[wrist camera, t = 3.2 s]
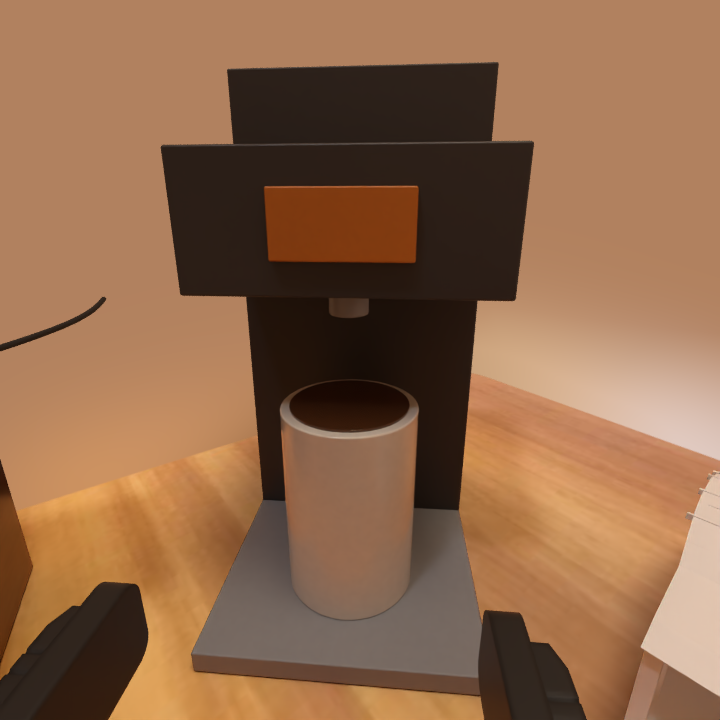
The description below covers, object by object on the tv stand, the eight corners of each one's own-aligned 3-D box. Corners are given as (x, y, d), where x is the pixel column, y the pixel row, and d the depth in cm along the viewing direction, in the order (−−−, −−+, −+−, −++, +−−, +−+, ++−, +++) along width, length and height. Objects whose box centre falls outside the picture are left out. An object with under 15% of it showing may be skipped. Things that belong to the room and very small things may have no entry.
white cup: (277, 546, 23) (265, 388, 20) (377, 515, 26) (380, 370, 23) (312, 641, 18) (303, 449, 15) (434, 592, 20) (447, 417, 18)
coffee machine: (490, 697, 17) (602, -92, 9) (193, 671, 18) (67, -64, 10) (447, 468, 32) (475, 96, 24) (287, 461, 33) (264, 100, 25)
